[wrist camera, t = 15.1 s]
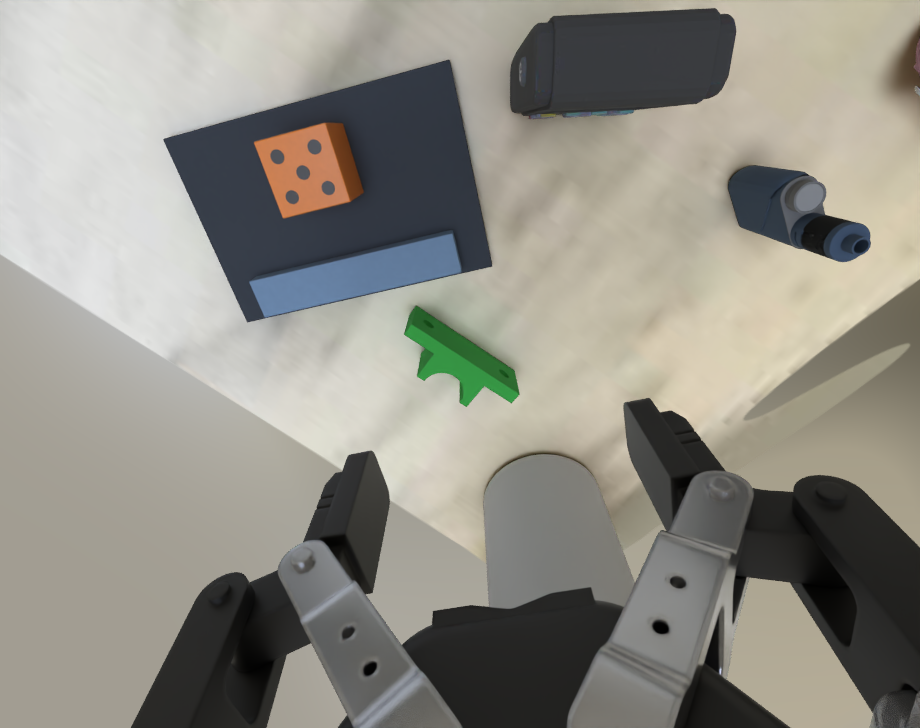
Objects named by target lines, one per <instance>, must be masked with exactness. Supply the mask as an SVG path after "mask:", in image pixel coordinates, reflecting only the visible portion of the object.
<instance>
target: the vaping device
mask: <svg viewBox="0 0 920 728" xmlns="http://www.w3.org/2000/svg"><path fill="white" fill-rule="evenodd" d="M728 189H729V193H730V196H731V200H732V203H733V206H734V210H735V213H736V217H737V220H738V223H739V225H740V227H742V228H744V229H747V230H749V231H752V232H755V233H758V234H761V235H763V236H766V237H769V238H772V239H774V240H777V241H780V242H782V243H785V244H788V245H791V246H793V247H795V248H798V249H805V250H808V251H811V252H813V253H816V254H819V255H822V256H825V257H827V258H830V259H833V260H836V261H839V262H847V261H851V260H853V259H855V258H857V257H858V256H860V255H862V254H864V253H865V252H867V251H868V249H869V248H870V245H871V242H870V232H869V230H868V228H867V227H866V226H865V225H863V224H860V223H856V222H852V221H848V220H844V219H840V218H835V217H831V216H827V215H825V212H824V208H823V202H824V200H825V197H826V188H825V186H824V185H823V184H822V183H820V182H818V181H817V180H816V179H815V178H814V177H812V176H809V175H808V174H807V173H805V172H801V171H794V170H786V169H779V168H771V167H764V166H756V165H754V166H748V167H745V168H743V169H741V170H739V171H738V172H736V173H735V174H734V175H733V176H732V178H731V179H730V181H729V184H728Z"/></svg>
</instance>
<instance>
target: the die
mask: <svg viewBox="0 0 920 728" xmlns="http://www.w3.org/2000/svg"><path fill="white" fill-rule="evenodd" d="M254 144H255V147H256V150H257V152H258V155H259V157H260V160H261V163H262V165H263V168H264V170H265V173H266V175H267V178H268V181H269V183H270V186H271V188H272V191H273V194H274V196H275V199H276V201H277V204H278V207H279V209H280V212H281V214H282V217H283V218H288V217H292V216H296V215H300V214H304V213H308V212H312V211H316V210H320V209H324V208H328V207H332V206H336V205H340V204H344V203H348V202H351V201H352V200H354V199H355V198H357V197H358V196H360V195H361V194H363V193H364V191H363V188H362V184H361V181H360V178H359V174H358V171H357V168H356V165H355V161H354V158H353V155H352V152H351V148H350V145H349V142H348V139H347V135H346V132H345V129H344V125H343V123H321V124H318V125H314V126H310V127H307V128H303V129H299V130H295V131H292V132H288V133H284V134H281V135H277V136H273V137H270V138H266V139H262V140H259V141H255V142H254Z"/></svg>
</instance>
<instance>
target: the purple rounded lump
mask: <svg viewBox="0 0 920 728" xmlns="http://www.w3.org/2000/svg"><path fill="white" fill-rule="evenodd" d="M914 69H915V70H916V71H917V72H918V73H919V76H920V38H919V40H918V44H917V47H916V64H915V65H914ZM915 92H916V93H917V94H918V95H919V96H920V88H919V87H918V86H917V85H915Z"/></svg>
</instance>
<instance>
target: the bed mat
mask: <svg viewBox="0 0 920 728" xmlns="http://www.w3.org/2000/svg"><path fill="white" fill-rule="evenodd" d="M321 123H343V125H344V129H345V132H346V135H347V139H348V142H349V145H350V148H351V152H352V155H353V158H354V161H355V165H356V168H357V171H358V174H359V178H360V181H361V184H362V188H363V191H364V193H363V194H361V195H360V196H358V197H357V198H355V199H354V200H352V201H351V202H348V203H344V204H340V205H336V206H332V207H328V208H324V209H320V210H316V211H312V212H308V213H304V214H300V215H296V216H292V217H288V218H283V217H282V214H281V212H280V209H279V207H278V204H277V201H276V199H275V196H274V194H273V191H272V188H271V186H270V183H269V181H268V178H267V175H266V173H265V170H264V168H263V165H262V163H261V160H260V157H259V155H258V152H257V150H256V147H255V144H254V142H255V141H259V140H262V139H266V138H270V137H273V136H277V135H281V134H284V133H288V132H292V131H295V130H299V129H303V128H307V127H310V126H314V125H318V124H321ZM163 140H164V142H165V144H166V147H167V149H168V151H169V153H170V155H171V157H172V160H173V162H174V164H175V166H176V168H177V170H178V173H179V175H180V177H181V179H182V181H183V184H184V186H185V188H186V190H187V192H188V194H189V197H190V199H191V201H192V203H193V205H194V207H195V210H196V212H197V214H198V216H199V218H200V220H201V223H202V225H203V227H204V229H205V231H206V233H207V236H208V238H209V240H210V242H211V244H212V247H213V249H214V251H215V253H216V255H217V257H218V260H219V262H220V264H221V266H222V268H223V270H224V273H225V275H226V277H227V279H228V281H229V283H230V286H231V288H232V290H233V292H234V294H235V296H236V299H237V301H238V303H239V305H240V307H241V310H242V312H243V314H244V316H245V318H246V320H247V322H251V321H255V320H260V319H264V318H268V317H273V316H277V315H281V314H286V313H290V312H295V311H299V310H303V309H308V308H312V307H316V306H321V305H325V304H330V303H334V302H338V301H343V300H347V299H351V298H356V297H360V296H365V295H369V294H373V293H378V292H382V291H386V290H391V289H395V288H400V287H404V286H408V285H413V284H417V283H421V282H426V281H430V280H435V279H439V278H443V277H448V276H452V275H457V274H461V273H465V272H470V271H474V270H478V269H483V268H487V267H492V262H491V257H490V252H489V247H488V242H487V238H486V233H485V228H484V223H483V218H482V213H481V209H480V204H479V199H478V194H477V189H476V185H475V180H474V175H473V170H472V165H471V160H470V156H469V151H468V146H467V141H466V136H465V131H464V127H463V122H462V117H461V112H460V107H459V103H458V98H457V93H456V88H455V83H454V78H453V74H452V69H451V64H450V60H446V61H443V62H439V63H436V64H432V65H428V66H425V67H421V68H418V69H414V70H410V71H407V72H403V73H400V74H396V75H392V76H389V77H385V78H382V79H378V80H374V81H371V82H367V83H364V84H360V85H356V86H353V87H349V88H346V89H342V90H338V91H335V92H331V93H328V94H324V95H320V96H317V97H313V98H310V99H306V100H302V101H299V102H295V103H292V104H288V105H284V106H281V107H277V108H274V109H270V110H266V111H263V112H259V113H255V114H252V115H248V116H245V117H241V118H237V119H234V120H230V121H227V122H223V123H219V124H216V125H212V126H209V127H205V128H201V129H198V130H194V131H191V132H187V133H183V134H180V135H176V136H173V137H169V138H165V139H163Z"/></svg>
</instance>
